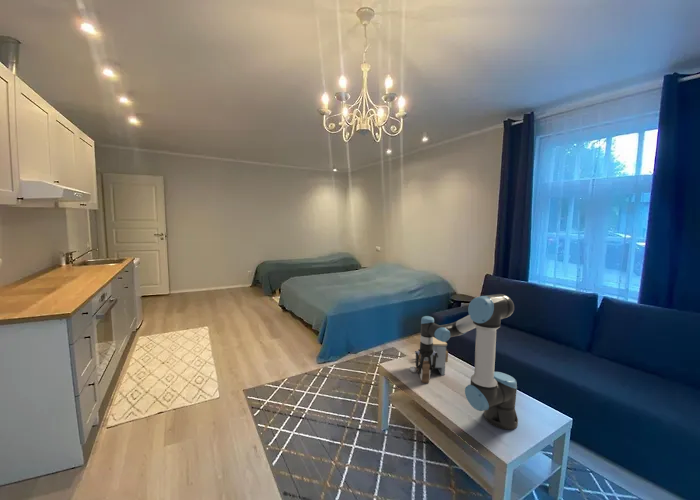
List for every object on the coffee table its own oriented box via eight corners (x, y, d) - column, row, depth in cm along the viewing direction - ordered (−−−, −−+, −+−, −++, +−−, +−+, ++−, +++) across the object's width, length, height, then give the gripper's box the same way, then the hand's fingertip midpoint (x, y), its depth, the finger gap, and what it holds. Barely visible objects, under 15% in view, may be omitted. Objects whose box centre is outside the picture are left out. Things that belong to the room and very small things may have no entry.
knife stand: (447, 361, 207) (448, 352, 207) (419, 361, 207) (419, 351, 206) (445, 358, 211) (446, 349, 210) (417, 358, 211) (418, 349, 210)
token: (418, 373, 191) (418, 370, 191) (410, 373, 192) (410, 370, 191) (417, 369, 196) (417, 366, 196) (409, 369, 196) (409, 366, 196)
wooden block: (428, 382, 179) (429, 364, 178) (422, 382, 179) (423, 364, 178) (422, 368, 196) (422, 351, 195) (416, 368, 196) (416, 351, 195)
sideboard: (445, 376, 188) (447, 344, 186) (424, 376, 188) (425, 344, 186) (439, 366, 201) (441, 336, 198) (419, 365, 201) (420, 336, 198)
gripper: (438, 339, 182) (436, 375, 185) (411, 339, 182) (409, 375, 185) (442, 344, 175) (440, 382, 177) (413, 344, 175) (412, 381, 177)
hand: (424, 378), depth 181 cm, fingers closed on wooden block, 4 cm apart
